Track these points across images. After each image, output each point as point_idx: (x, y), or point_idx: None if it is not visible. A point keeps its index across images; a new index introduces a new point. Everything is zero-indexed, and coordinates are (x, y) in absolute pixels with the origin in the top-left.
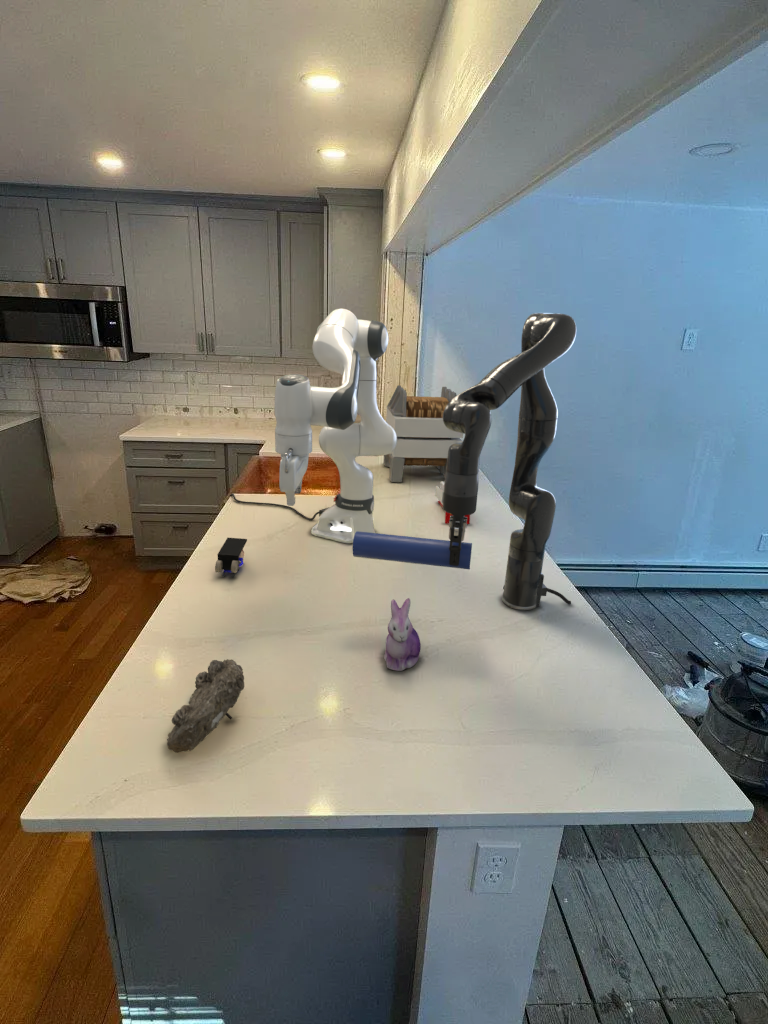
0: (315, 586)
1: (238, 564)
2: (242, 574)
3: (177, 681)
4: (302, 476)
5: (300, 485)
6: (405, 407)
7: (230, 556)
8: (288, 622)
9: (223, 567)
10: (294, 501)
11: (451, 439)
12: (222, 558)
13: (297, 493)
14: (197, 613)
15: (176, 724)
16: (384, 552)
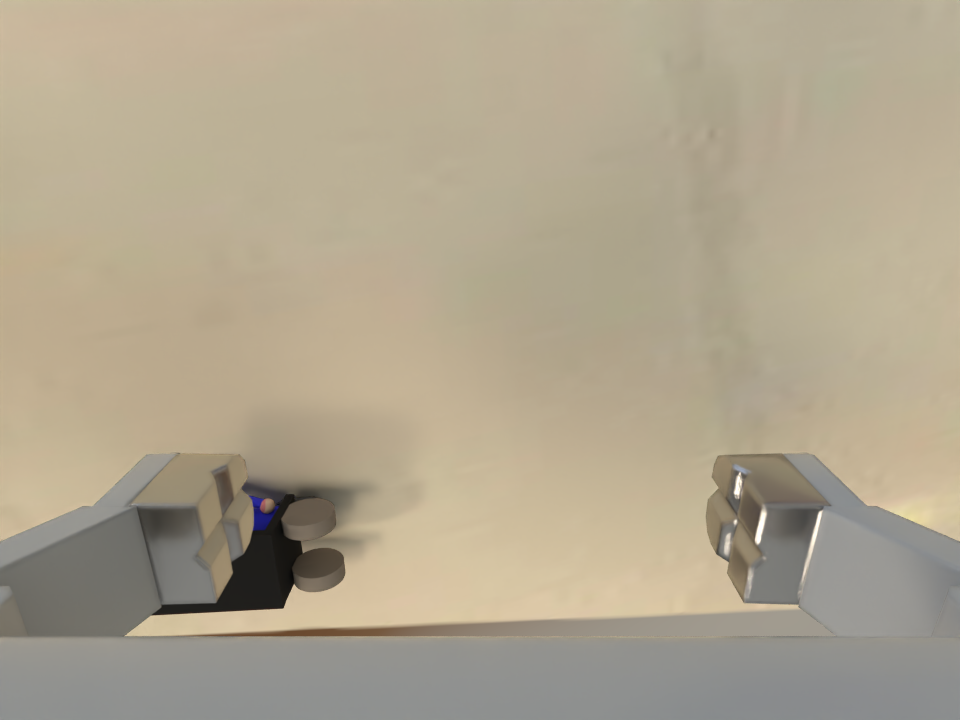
0: (323, 161)
1: (282, 509)
2: (280, 472)
3: (951, 480)
4: (299, 687)
5: (124, 522)
6: None
7: (278, 559)
8: (641, 229)
9: (298, 550)
10: (829, 477)
11: None
12: (286, 579)
13: (242, 484)
14: (583, 533)
15: None
16: None
